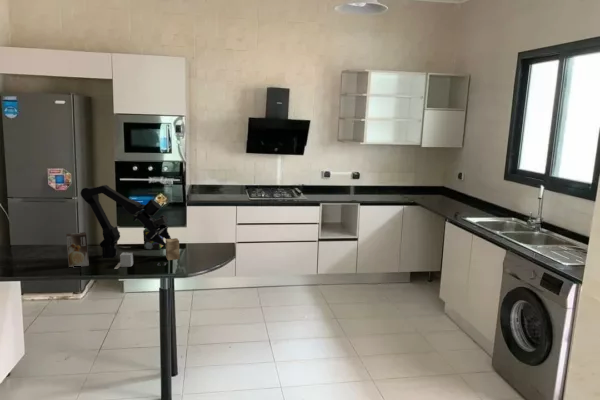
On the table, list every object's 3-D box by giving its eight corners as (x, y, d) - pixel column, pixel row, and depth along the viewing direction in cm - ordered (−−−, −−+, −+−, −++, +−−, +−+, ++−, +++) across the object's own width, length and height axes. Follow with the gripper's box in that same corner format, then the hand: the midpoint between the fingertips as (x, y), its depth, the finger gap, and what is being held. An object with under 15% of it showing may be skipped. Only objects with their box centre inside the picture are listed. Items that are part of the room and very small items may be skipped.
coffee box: (88, 262, 243) (86, 231, 241) (89, 265, 238) (87, 234, 235) (68, 264, 239) (66, 233, 237) (68, 268, 234) (66, 236, 231)
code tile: (147, 268, 235) (147, 267, 235) (152, 261, 247) (152, 260, 247) (172, 267, 236) (172, 267, 236) (175, 261, 248) (175, 260, 248)
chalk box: (164, 245, 279) (163, 220, 277) (160, 249, 270) (159, 224, 268) (148, 245, 279) (147, 220, 277) (143, 249, 270) (142, 224, 268)
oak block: (167, 260, 248) (167, 241, 247) (166, 257, 254) (165, 239, 252) (179, 259, 251) (179, 240, 249) (177, 256, 256) (177, 238, 255)
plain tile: (113, 269, 233) (113, 268, 233) (119, 263, 243) (119, 262, 243) (135, 268, 234) (135, 268, 234) (139, 262, 244) (139, 262, 244)
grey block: (120, 266, 236) (120, 255, 235) (122, 264, 241) (122, 252, 240) (131, 266, 236) (130, 255, 235) (133, 263, 241) (132, 252, 240)
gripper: (151, 214, 240) (172, 236, 241) (164, 208, 258) (184, 229, 259) (136, 229, 241) (157, 251, 242) (150, 221, 260) (170, 242, 261)
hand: (168, 242), depth 251 cm, fingers open, 9 cm apart
